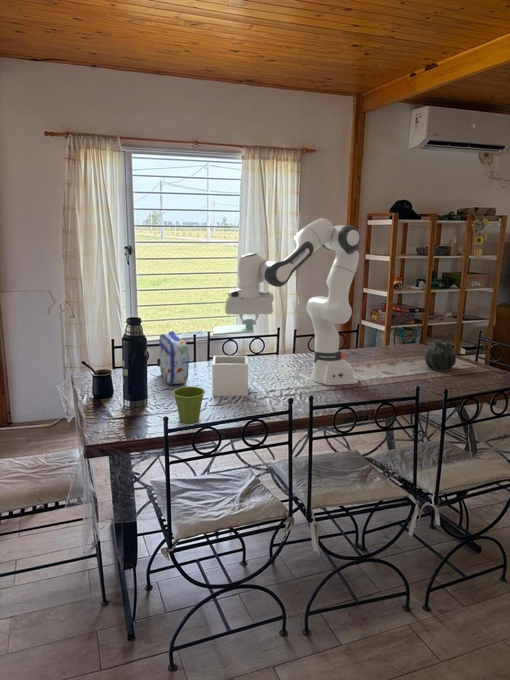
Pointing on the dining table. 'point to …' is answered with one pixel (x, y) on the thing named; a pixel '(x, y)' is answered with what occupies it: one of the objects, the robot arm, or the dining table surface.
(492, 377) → the dining table surface
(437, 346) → the squash
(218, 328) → the lid
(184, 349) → the lunch box
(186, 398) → the plant pot
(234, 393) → the tub
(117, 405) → the dining table surface
